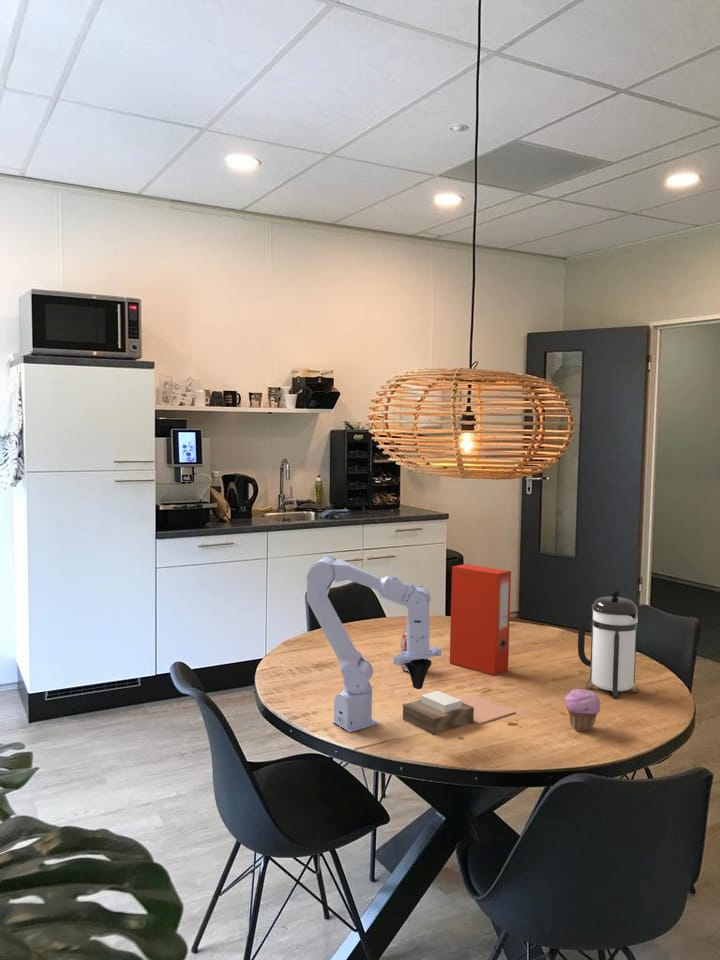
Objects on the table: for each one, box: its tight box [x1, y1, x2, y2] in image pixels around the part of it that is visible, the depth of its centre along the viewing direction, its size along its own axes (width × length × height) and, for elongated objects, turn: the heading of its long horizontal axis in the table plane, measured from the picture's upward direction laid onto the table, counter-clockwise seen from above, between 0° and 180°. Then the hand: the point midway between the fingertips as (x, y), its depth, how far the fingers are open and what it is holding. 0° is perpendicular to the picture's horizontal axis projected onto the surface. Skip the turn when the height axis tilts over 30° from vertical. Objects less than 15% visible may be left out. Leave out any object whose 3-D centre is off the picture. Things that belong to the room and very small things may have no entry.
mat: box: [458, 694, 516, 726], centre depth 206 cm, size 14×16×1 cm
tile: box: [420, 690, 462, 713], centre depth 198 cm, size 6×9×2 cm, turn 37°
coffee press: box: [577, 589, 640, 699], centre depth 222 cm, size 17×16×30 cm
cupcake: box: [564, 688, 601, 732], centre depth 193 cm, size 9×9×10 cm
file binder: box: [449, 563, 512, 676], centre depth 242 cm, size 8×17×32 cm, turn 47°
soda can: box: [400, 630, 408, 672], centre depth 239 cm, size 7×7×12 cm
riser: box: [402, 699, 474, 736], centre depth 197 cm, size 14×12×4 cm
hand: (417, 687), depth 192 cm, fingers closed
